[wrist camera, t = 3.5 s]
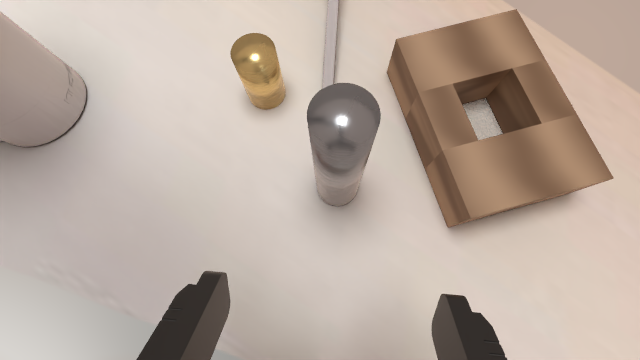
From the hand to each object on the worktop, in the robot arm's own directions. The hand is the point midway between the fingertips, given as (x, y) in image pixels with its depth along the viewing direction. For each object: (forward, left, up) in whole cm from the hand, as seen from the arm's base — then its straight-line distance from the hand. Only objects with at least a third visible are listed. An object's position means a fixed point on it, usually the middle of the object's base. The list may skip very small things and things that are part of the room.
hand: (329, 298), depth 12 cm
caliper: (+7, +24, -15) cm, 29 cm away
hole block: (+16, +10, -14) cm, 24 cm away
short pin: (-1, +19, -14) cm, 24 cm away
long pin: (+3, +8, -14) cm, 17 cm away
